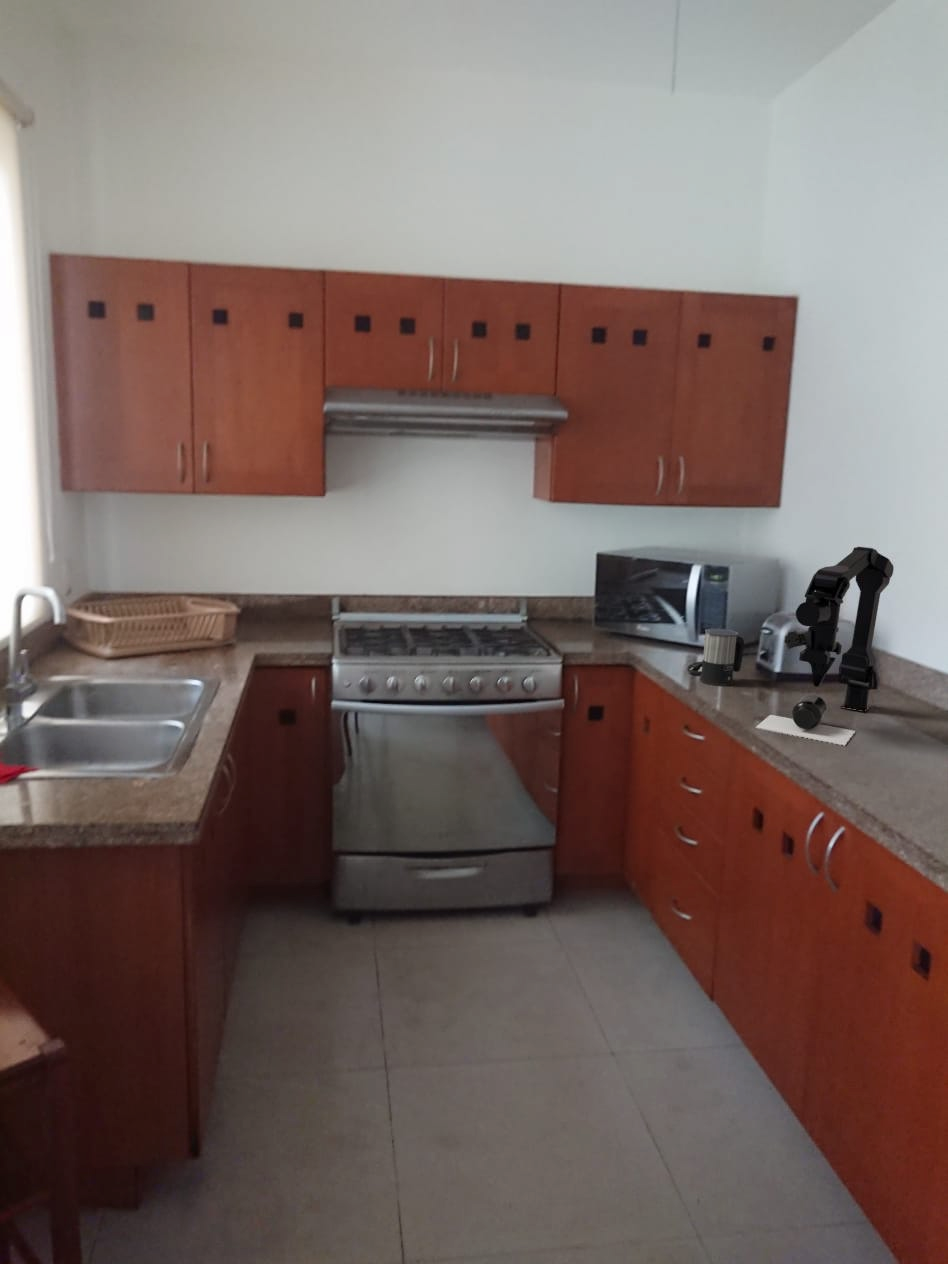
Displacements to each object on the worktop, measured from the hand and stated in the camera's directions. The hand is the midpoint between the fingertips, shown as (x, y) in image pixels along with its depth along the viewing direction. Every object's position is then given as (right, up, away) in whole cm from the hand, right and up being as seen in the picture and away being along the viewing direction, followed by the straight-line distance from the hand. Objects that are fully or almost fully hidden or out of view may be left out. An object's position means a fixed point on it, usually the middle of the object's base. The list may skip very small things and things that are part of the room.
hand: (816, 686), depth 222 cm
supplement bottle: (0, -5, +3) cm, 6 cm away
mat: (-4, -10, -4) cm, 11 cm away
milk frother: (-15, -1, +44) cm, 46 cm away
